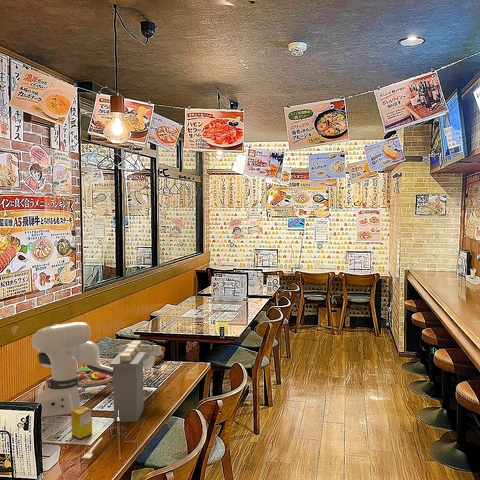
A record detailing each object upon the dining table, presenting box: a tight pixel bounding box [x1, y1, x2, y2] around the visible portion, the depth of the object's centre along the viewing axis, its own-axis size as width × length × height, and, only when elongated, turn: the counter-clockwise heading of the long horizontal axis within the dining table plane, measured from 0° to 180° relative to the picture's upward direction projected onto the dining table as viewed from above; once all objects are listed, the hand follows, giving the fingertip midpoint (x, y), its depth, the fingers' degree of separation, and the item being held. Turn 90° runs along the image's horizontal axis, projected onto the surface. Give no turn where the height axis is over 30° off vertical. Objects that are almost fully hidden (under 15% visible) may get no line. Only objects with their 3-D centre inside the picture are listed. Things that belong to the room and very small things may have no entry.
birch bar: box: [120, 339, 143, 362], centre depth 233 cm, size 26×4×3 cm, turn 179°
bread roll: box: [154, 345, 166, 364], centre depth 311 cm, size 13×10×8 cm
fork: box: [80, 437, 103, 459], centre depth 196 cm, size 3×20×2 cm, turn 176°
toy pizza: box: [77, 366, 113, 388], centre depth 279 cm, size 28×28×4 cm
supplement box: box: [70, 405, 93, 441], centre depth 207 cm, size 6×6×11 cm
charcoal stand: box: [108, 352, 146, 423], centre depth 228 cm, size 18×12×26 cm, turn 179°
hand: (137, 346), depth 244 cm, fingers open, 8 cm apart
